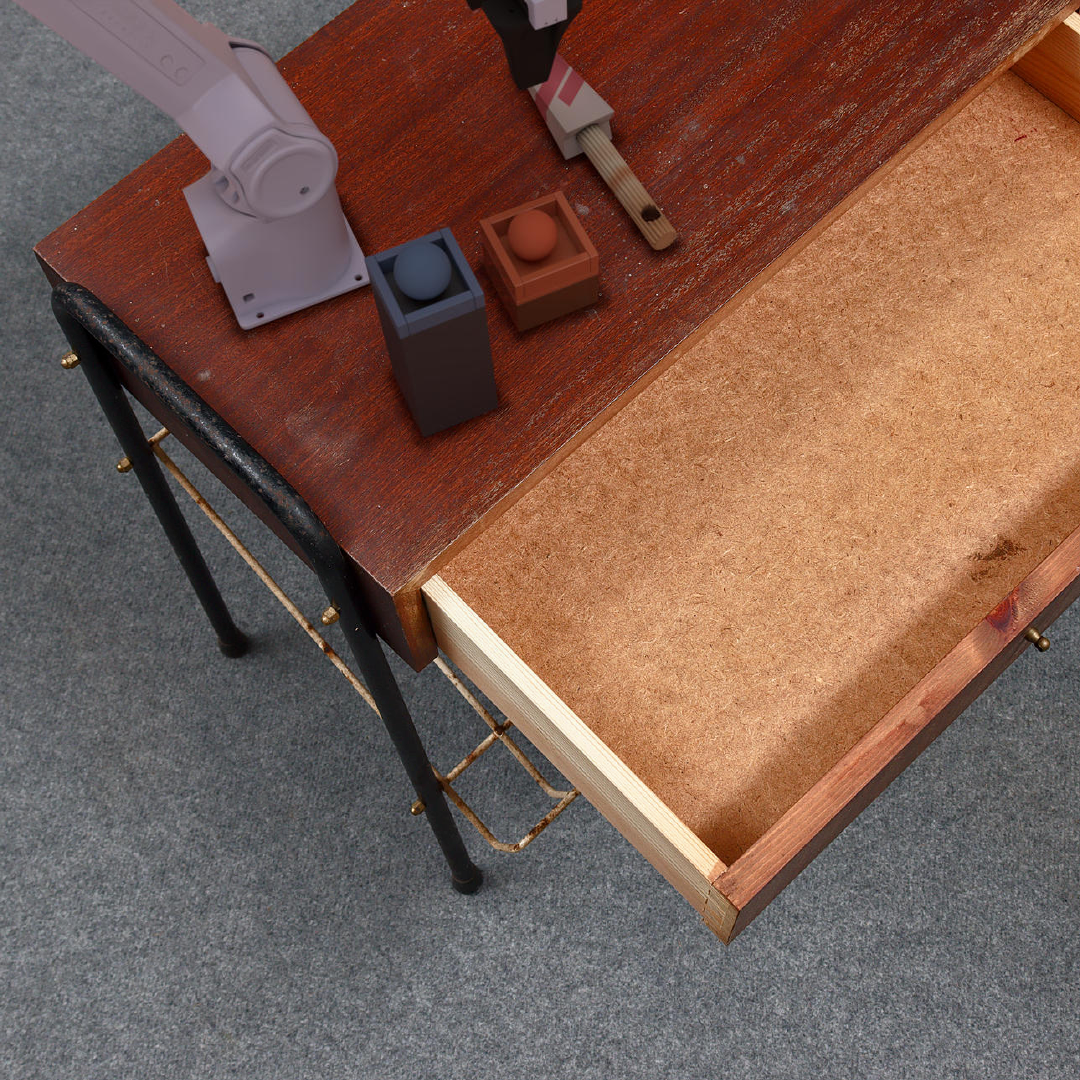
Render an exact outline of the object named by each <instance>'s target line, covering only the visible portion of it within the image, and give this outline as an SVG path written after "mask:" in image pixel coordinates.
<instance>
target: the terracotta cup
mask: <svg viewBox="0 0 1080 1080" xmlns="http://www.w3.org/2000/svg"><path fill="white" fill-rule="evenodd" d="M526 210H539V211H542V212H544V213H546V214H547V215H549V216H550V217H551V218H552V220H553V221H554V223H555V225H556V228H557V233H558V238H557V243H556V246H555V248H554V250H553V251H552V252H551V253H550V254H549V255H548V256H547V257H545V258H544V259H541V260H538V261H527V260H524V259H522V258H520V257H518V256H517V255H516V254H515V253H514V252H513V251H512V249H511V247H510V245H509V242H508V228H509V225H510V223H511V221H512V220H513V219H514V217H515V216H516V215H518V214H519V213H521V212H523V211H526ZM575 213H576V212H575V211H574V210H573V208H572V207H571V205H570V203H569V202H568V200H567V198H566V196H565V195H564V193H563V191H562V190H556V191H555V192H552V193H550V194H547V195H544V196H541V197H539V198H536V199H534V200H531V201H528V202H526V203H523V204H520V205H518V206H515V207H513V208H510V209H507V210H505V211H502V212H499V213H497V214H493V215H491V216H489V217H486V218H483V219H480V220H479V222H478V223H479V231H480V240H481V248H482V255H483V263H484V264H483V265H484V270H485V271H486V273H487V276H488V277H489V279H490V282H491V283H492V285H493V287H494V289H495V291H496V292H497V294H498V296H499V298H500V300H501V302H502V303H503V306H504V307H505V309H506V311H507V313H508V315H509V317H510V319H511V320H512V322H513V324H514V326H515V328H516V330H517V331H518V333H522V332H525V331H527V330H530V329H533V328H535V327H537V326H540V325H542V324H546V323H548V322H550V321H553V320H556V319H557V318H560V317H562V316H563V317H564V316H566V315H568V314H571V313H573V312H575V311H578V310H581V309H583V308H586V307H588V306H591V305H592V304H595V303H598V302H599V278H600V277H599V273H600V270H599V268H600V267H599V266H600V264H599V263H600V262H599V261H600V259H599V258H600V254H599V252H598V250H597V249H596V248H595V246H594V244H593V242H592V240H591V239H590V237H589V235H588V234H587V232H586V230H585V228H584V227H583V226H582V224H581V222H580V220H579V219H578V217H577V215H576V214H575Z"/></svg>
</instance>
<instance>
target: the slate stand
mask: <svg viewBox="0 0 1080 1080" xmlns="http://www.w3.org/2000/svg"><path fill="white" fill-rule="evenodd" d="M415 242H429V243H432V244H435V245H436V246H438V247H439V248H441V249H442V250H443V251H444V252H445V254H446V255H447V257H448V259H449V261H450V265H451V279H450V282H449V284H448V286H447V288H446V289H445V290H444V292H443V293H442V294H440V295H439V296H437V297H435V298H433V299H430V300H416V299H413V298H411V297H409V296H407V295H406V294H404V293H403V292H402V291H401V289H400V288H399V287H398V285H397V283H396V281H395V277H394V264H395V260H396V258H397V256H398V254H399V253H400V252H401V250H402V249H404V248H405V247H406V246H408V245H409V244H412V243H415ZM364 261H365V265H366V268H367V272H368V276H369V280H370V283H369V284H370V288H371V292H372V295H373V299H374V303H375V307H376V311H377V314H378V318H379V322H380V326H381V330H382V334H383V338H384V342H385V346H386V350H387V353H388V357H389V361H390V365H391V369H392V373H393V376H394V379H395V381H396V383H397V385H398V388H399V389H400V391H401V394H402V396H403V398H404V401H405V402H406V404H407V406H408V408H409V410H410V412H411V414H412V417H413V418H414V421H415V423H416V424H417V427H418V429H419V431H420V433H421V435H422V437H423V439H425V438H427V437H430V436H432V435H435V434H437V433H440V432H442V431H445V430H447V429H450V428H452V427H455V426H457V425H460V424H462V423H465V422H467V421H470V420H471V419H474V418H477V417H479V416H482V415H484V414H487V413H489V412H491V411H495V410H496V409H499V402H498V393H497V387H496V377H495V372H494V371H495V370H494V369H495V368H494V363H493V362H494V361H493V354H492V346H491V339H490V329H489V323H488V322H489V321H488V314H487V306H486V299H485V292H484V291H483V288H482V287H481V285H480V282H479V281H478V279H477V277H476V275H475V274H474V272H473V269H472V268H471V266H470V264H469V262H468V260H467V259H466V257H465V255H464V253H463V250H462V249H461V247H460V245H459V243H458V241H457V240H456V238H455V235H454V233H453V232H452V230H451V228H450V226H446V227H443V228H441V229H440V230H438V229H437V230H436V231H432V232H430V233H428V234H425V235H422V236H420V237H417V238H415V239H411V240H409V241H407V242H403V243H401V244H398V245H396V246H393V247H390V248H388V249H385V250H382V251H380V252H377V253H374V254H372V255H369V256H366V257H365V258H364Z"/></svg>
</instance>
